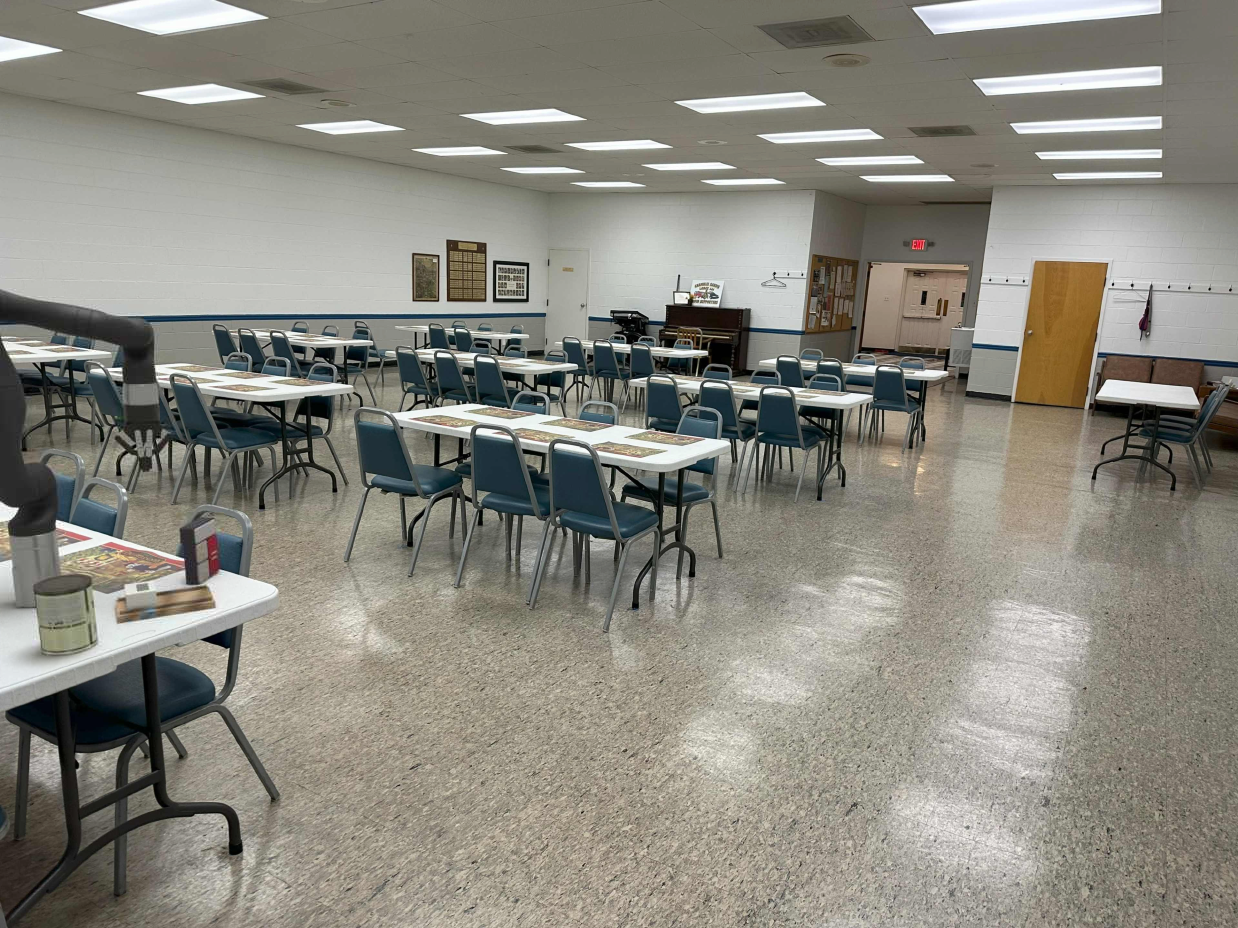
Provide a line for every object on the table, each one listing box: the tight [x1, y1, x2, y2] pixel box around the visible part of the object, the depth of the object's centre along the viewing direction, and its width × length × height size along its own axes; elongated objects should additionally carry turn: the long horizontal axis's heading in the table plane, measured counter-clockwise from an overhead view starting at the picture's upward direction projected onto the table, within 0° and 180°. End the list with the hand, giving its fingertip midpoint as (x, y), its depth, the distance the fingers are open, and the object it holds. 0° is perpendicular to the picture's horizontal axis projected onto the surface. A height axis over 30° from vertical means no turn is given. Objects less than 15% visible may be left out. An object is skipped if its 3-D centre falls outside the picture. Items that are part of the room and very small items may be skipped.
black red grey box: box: [178, 516, 220, 586], centre depth 218 cm, size 11×4×15 cm, turn 179°
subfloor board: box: [114, 584, 217, 624], centre depth 199 cm, size 20×12×2 cm, turn 122°
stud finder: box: [124, 580, 157, 609], centre depth 196 cm, size 6×8×4 cm
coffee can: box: [33, 573, 99, 657], centre depth 175 cm, size 10×10×14 cm
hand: (146, 471), depth 208 cm, fingers closed
